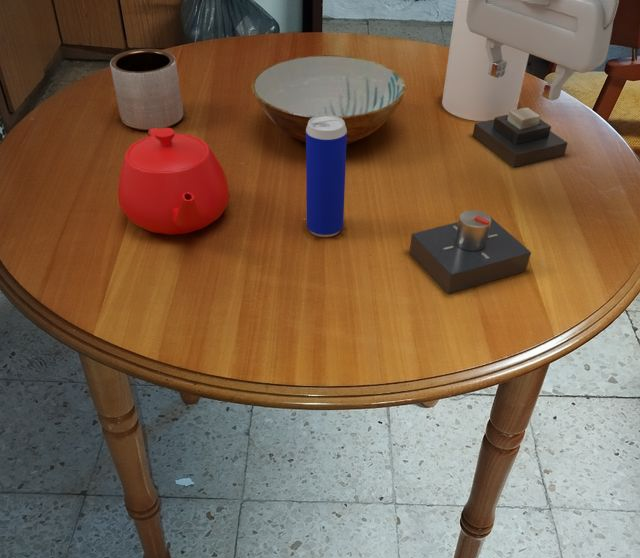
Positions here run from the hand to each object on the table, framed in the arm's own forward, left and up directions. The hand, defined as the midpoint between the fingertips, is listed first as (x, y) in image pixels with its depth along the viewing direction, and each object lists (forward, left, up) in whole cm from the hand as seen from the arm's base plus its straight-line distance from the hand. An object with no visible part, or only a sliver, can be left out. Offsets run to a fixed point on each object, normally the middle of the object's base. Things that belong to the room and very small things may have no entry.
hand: (522, 86), depth 91 cm
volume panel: (+14, +13, -16) cm, 25 cm away
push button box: (-12, -12, -16) cm, 23 cm away
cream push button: (-12, -12, -12) cm, 21 cm away
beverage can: (+28, -2, -16) cm, 32 cm away
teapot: (+46, -13, -16) cm, 50 cm away
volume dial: (+14, +13, -13) cm, 23 cm away
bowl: (+15, -29, -16) cm, 36 cm away
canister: (-15, -28, -16) cm, 35 cm away
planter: (+41, -46, -16) cm, 64 cm away
